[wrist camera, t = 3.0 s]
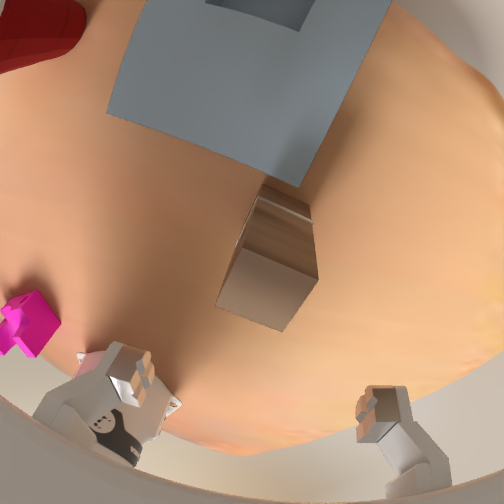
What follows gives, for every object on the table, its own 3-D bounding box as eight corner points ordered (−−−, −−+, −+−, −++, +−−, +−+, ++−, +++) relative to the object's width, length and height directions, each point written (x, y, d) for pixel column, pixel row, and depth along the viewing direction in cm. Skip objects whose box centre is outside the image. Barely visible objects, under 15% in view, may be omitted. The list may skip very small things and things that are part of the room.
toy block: (38, 288, 33) (8, 321, 26) (62, 322, 36) (36, 357, 29) (2, 300, 37) (-21, 326, 30) (22, 328, 40) (0, 355, 33)
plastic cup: (87, -39, 12) (-3, -65, 2) (127, 23, 16) (17, 0, 6) (18, 36, 16) (-70, 45, 6) (48, 102, 20) (-53, 131, 10)
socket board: (297, 172, 21) (298, 188, 18) (133, 108, 20) (106, 113, 17) (390, -17, 12) (408, -35, 9) (219, -73, 11) (206, -96, 8)
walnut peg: (287, 247, 25) (282, 333, 16) (241, 227, 24) (213, 306, 16) (310, 205, 23) (320, 279, 14) (261, 182, 22) (241, 245, 14)
